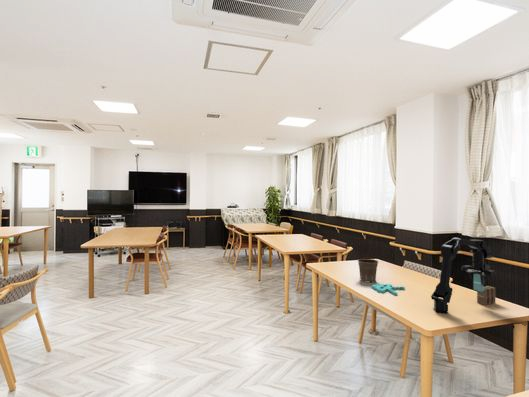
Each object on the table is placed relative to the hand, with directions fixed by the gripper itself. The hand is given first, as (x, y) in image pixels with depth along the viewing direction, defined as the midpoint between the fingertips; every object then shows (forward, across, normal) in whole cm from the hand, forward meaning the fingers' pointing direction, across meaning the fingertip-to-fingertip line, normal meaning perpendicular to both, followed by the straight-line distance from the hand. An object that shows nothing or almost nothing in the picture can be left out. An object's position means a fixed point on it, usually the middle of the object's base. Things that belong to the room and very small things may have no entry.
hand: (478, 284), depth 199 cm
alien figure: (+14, +48, +30) cm, 58 cm away
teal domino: (+4, 0, 0) cm, 4 cm away
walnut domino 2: (+14, +1, -8) cm, 16 cm away
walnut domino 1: (+13, +1, -4) cm, 14 cm away
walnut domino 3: (+14, +1, -12) cm, 18 cm away
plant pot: (+13, +74, +25) cm, 80 cm away
